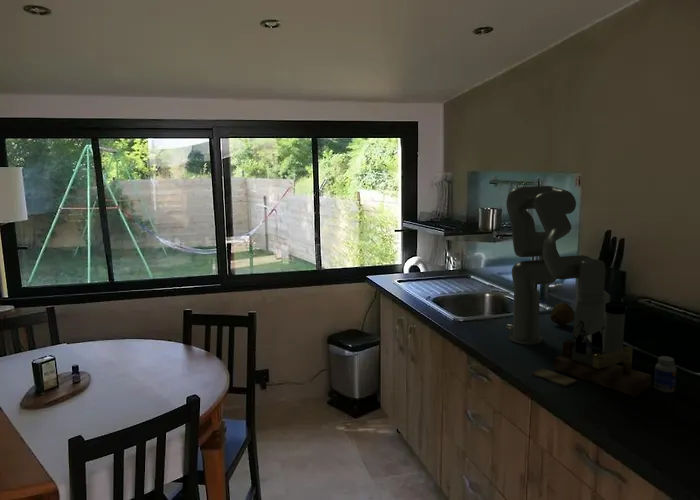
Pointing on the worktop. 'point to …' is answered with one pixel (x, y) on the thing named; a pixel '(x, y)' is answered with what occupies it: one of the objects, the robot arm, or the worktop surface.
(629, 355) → the lever
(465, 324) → the worktop surface
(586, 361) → the black rectangular block
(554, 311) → the natural sponge
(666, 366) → the pill bottle
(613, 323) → the travel mug
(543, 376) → the cork pad
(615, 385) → the plane body
